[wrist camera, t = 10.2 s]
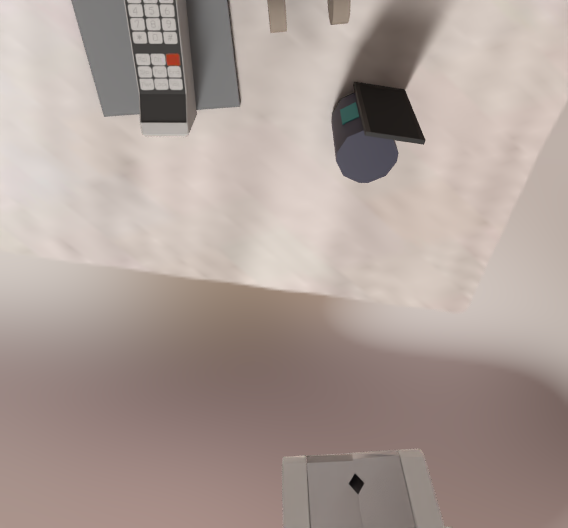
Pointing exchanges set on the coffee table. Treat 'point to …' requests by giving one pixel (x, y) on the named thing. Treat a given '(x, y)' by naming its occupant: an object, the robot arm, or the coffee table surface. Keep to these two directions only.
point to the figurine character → (277, 13)
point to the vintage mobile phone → (162, 66)
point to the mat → (120, 66)
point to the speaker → (372, 130)
